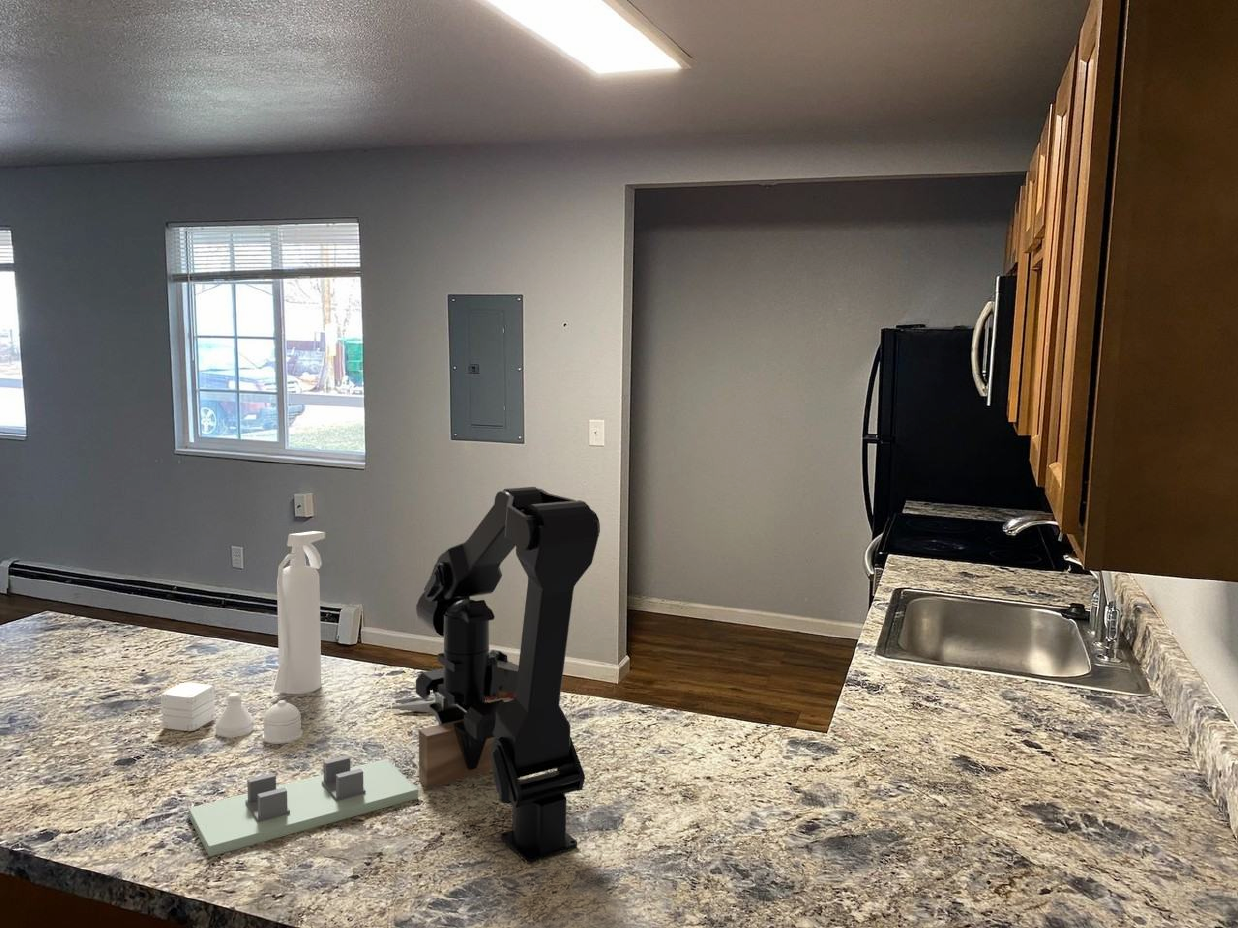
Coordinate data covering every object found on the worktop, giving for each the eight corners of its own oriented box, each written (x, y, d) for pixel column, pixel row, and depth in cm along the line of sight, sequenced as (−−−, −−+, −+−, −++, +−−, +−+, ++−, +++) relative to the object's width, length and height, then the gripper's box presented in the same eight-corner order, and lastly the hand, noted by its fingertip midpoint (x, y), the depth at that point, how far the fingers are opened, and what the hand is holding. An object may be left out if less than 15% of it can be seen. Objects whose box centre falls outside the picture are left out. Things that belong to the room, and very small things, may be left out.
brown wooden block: (511, 766, 126) (511, 715, 125) (427, 789, 119) (426, 736, 118) (502, 759, 128) (502, 709, 127) (419, 781, 121) (418, 729, 120)
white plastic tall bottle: (251, 697, 146) (254, 537, 143) (301, 674, 157) (304, 526, 155) (288, 705, 144) (292, 543, 141) (336, 681, 155) (340, 530, 153)
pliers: (399, 697, 149) (399, 681, 149) (528, 697, 151) (528, 681, 150) (386, 727, 138) (386, 710, 138) (525, 727, 139) (526, 710, 139)
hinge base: (418, 798, 116) (417, 766, 116) (209, 856, 102) (208, 820, 102) (386, 767, 124) (386, 737, 124) (189, 817, 110) (187, 784, 110)
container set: (161, 730, 134) (159, 693, 134) (185, 716, 139) (184, 680, 139) (289, 747, 130) (288, 708, 129) (309, 732, 135) (308, 694, 135)
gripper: (559, 657, 118) (557, 776, 120) (488, 619, 133) (487, 725, 135) (478, 674, 112) (478, 799, 114) (413, 632, 127) (414, 743, 129)
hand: (466, 763), depth 123 cm, fingers open, 3 cm apart
